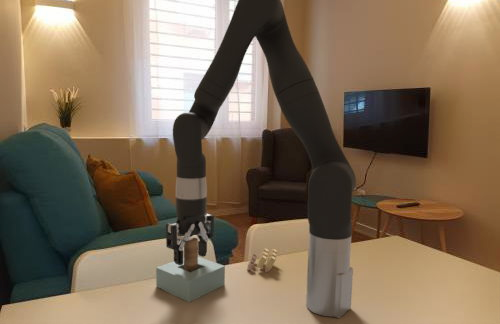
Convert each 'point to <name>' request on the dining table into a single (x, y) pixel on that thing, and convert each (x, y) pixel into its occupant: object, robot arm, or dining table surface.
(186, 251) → the peg
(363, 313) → the dining table surface
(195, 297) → the socket block
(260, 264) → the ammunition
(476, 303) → the dining table surface
